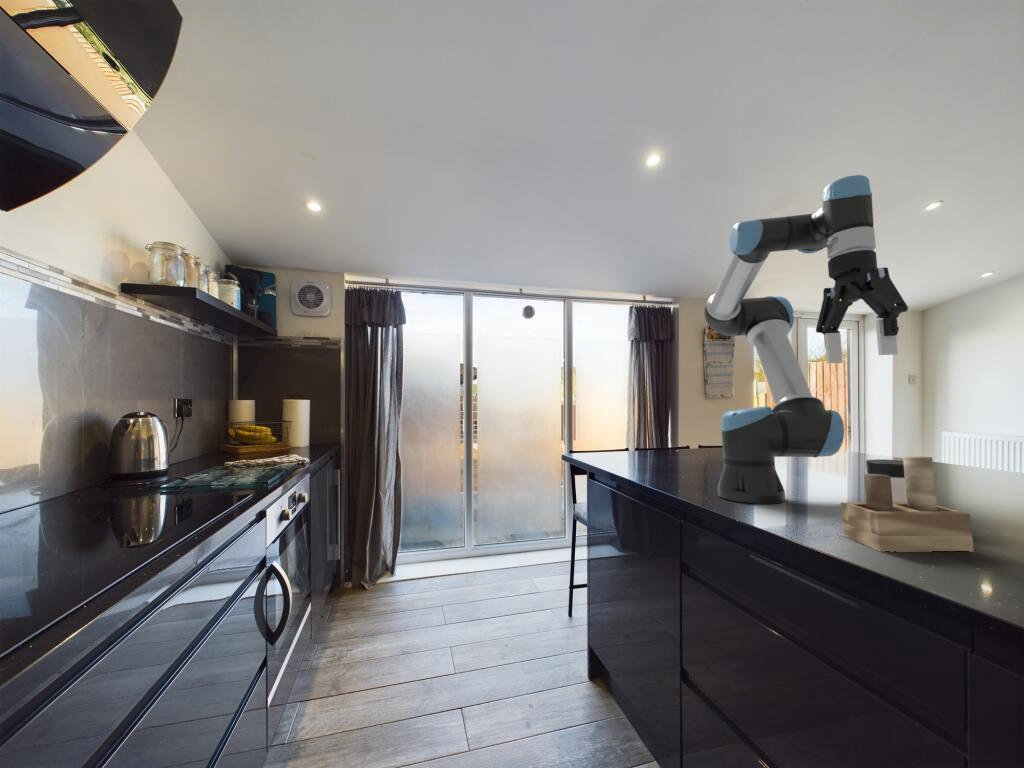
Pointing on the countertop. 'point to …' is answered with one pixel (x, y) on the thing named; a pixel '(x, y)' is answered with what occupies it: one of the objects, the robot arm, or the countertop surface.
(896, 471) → the jar
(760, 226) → the robot arm
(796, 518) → the countertop surface
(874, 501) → the stub
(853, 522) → the wooden divided box
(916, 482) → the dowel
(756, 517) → the countertop surface
